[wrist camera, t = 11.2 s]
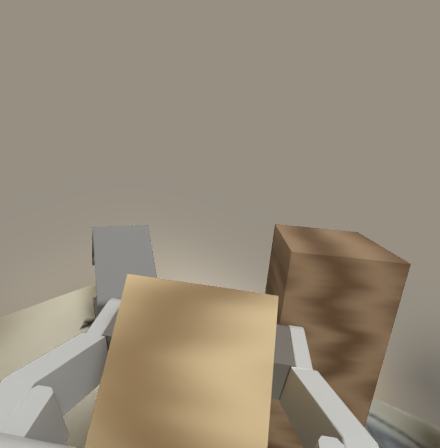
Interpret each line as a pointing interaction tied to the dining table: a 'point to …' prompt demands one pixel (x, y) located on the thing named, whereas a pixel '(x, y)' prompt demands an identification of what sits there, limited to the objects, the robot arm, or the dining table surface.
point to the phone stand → (119, 259)
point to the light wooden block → (186, 368)
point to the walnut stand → (335, 311)
